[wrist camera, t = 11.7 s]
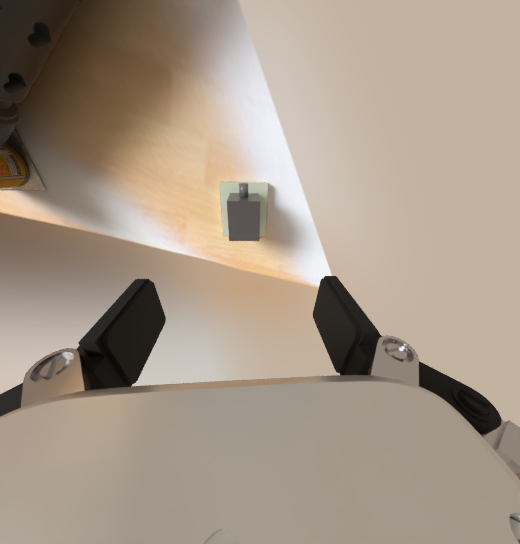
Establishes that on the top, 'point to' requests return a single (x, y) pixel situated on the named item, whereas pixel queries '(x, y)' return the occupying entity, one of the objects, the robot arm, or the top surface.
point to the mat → (252, 188)
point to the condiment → (17, 167)
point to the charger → (243, 215)
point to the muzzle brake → (26, 49)
